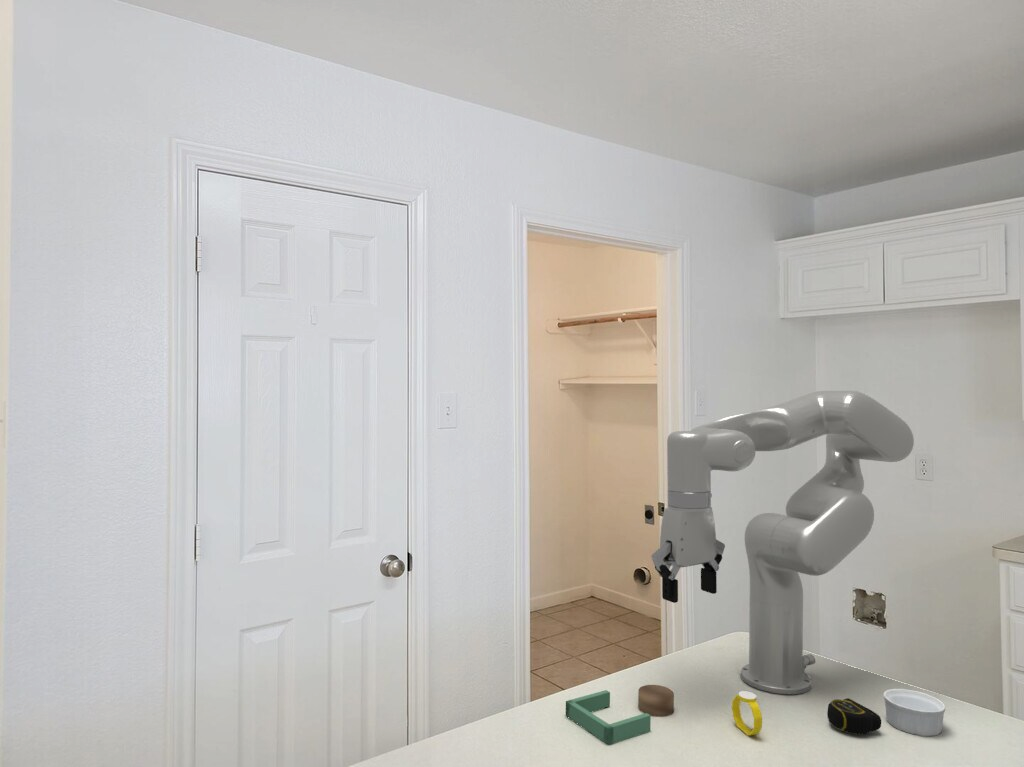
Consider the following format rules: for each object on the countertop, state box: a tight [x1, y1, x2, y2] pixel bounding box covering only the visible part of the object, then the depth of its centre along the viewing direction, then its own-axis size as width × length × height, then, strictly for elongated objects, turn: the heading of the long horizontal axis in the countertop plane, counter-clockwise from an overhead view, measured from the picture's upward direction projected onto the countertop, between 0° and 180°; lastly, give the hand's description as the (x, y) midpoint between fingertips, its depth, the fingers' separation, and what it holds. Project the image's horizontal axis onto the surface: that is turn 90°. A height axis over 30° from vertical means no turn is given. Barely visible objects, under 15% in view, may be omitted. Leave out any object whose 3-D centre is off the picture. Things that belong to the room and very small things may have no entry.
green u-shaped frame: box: [565, 689, 652, 746], centre depth 112 cm, size 9×11×2 cm
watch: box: [731, 690, 763, 737], centre depth 110 cm, size 6×3×6 cm, turn 18°
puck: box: [637, 684, 675, 718], centre depth 118 cm, size 6×6×3 cm
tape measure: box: [826, 698, 882, 736], centre depth 112 cm, size 7×7×4 cm
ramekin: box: [883, 688, 946, 737], centre depth 113 cm, size 9×9×4 cm
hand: (689, 596), depth 122 cm, fingers open, 9 cm apart
